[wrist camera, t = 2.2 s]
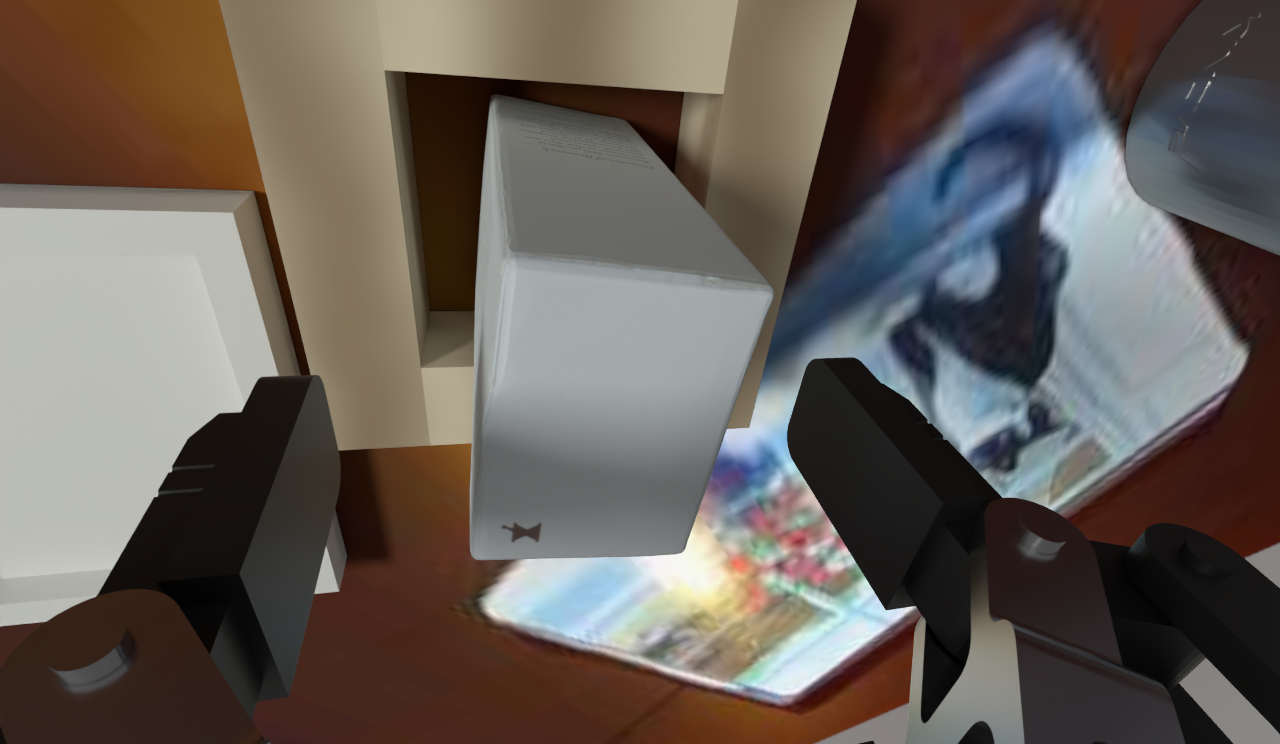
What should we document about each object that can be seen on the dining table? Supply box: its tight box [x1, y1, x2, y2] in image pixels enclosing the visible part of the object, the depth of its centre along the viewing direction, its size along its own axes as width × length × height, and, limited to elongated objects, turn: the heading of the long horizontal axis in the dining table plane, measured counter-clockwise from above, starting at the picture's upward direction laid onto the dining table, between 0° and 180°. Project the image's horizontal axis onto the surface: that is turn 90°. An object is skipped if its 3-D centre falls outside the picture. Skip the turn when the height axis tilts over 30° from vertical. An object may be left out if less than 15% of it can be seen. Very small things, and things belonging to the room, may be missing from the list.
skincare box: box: [470, 94, 775, 560], centre depth 15 cm, size 6×4×12 cm
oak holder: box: [219, 0, 857, 450], centre depth 18 cm, size 14×14×4 cm
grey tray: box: [0, 184, 347, 626], centre depth 20 cm, size 14×16×2 cm
